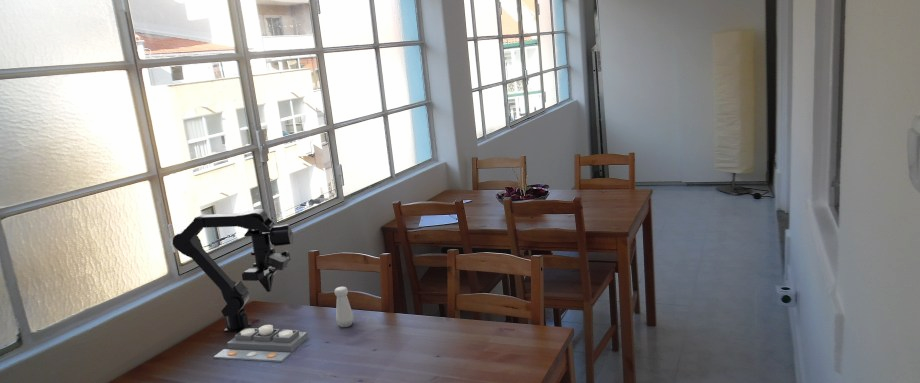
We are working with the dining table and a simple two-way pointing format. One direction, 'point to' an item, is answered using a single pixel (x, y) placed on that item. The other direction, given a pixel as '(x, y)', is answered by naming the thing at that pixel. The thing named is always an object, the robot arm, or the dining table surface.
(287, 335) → the button right
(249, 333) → the button left
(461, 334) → the dining table surface
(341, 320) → the salt shaker
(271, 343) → the button board
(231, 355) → the pattern card
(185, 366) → the dining table surface
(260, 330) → the button middle
